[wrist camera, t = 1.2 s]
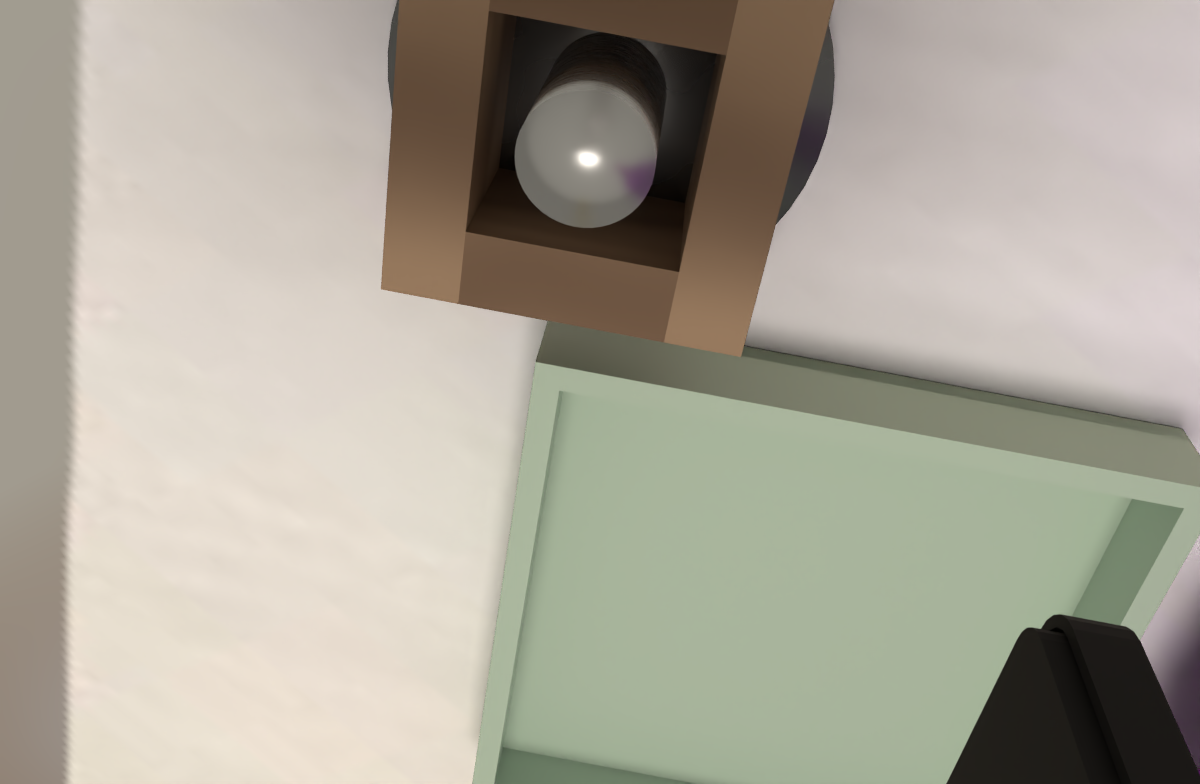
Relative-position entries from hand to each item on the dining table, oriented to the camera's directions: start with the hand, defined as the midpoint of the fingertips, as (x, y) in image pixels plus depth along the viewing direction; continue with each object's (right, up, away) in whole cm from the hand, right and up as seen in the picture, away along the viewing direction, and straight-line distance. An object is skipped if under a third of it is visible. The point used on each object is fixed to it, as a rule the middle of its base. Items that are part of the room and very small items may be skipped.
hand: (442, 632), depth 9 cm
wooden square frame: (+1, +8, +13) cm, 16 cm away
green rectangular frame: (+6, -4, +21) cm, 22 cm away
